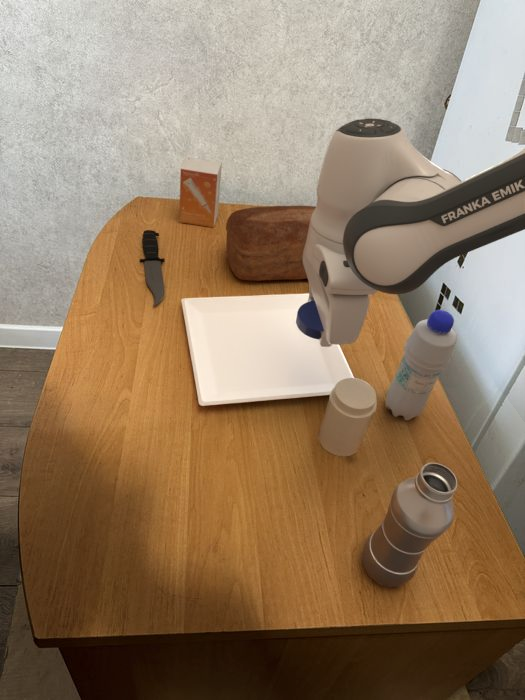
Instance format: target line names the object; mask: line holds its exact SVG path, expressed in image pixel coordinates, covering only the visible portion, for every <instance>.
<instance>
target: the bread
mask: <svg viewBox="0 0 525 700" xmlns="http://www.w3.org/2000/svg"><path fill="white" fill-rule="evenodd" d="M315 208H316V206H314V205H273V206H272V205H271V206H256V207H255V206H254V207H247V208H242V209H238V210H234V211H233V212H232V213H230V214H229V216H228V218H227V220H226V224H225V231H226V248H225V249H226V250H225V254H226V258H227V261H228V264H229V266H230V269H231V271H232V273H233V274H234V275H235V276H236V277H237V278H238V279H239V280H243V281H250V282H262V281H263V282H264V281H273V280H277V281H278V280H305V279H308V278H307V275H306V271H305V268H304V265H303V251H304V247H305V243H306V239H307V235H308V230H309V225H310V220H311V216H312V214H313V212H314V210H315Z"/></svg>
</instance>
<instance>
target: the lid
mask: <svg viewBox="0 0 525 700" xmlns="http://www.w3.org/2000/svg"><path fill="white" fill-rule="evenodd" d="M296 324H297V327H298V328H299V330H300V331H301V332H302V333H304V334H305V335H307V336H309V337H311V338H314V339H319V334H320V331H324V329H323V326H322V322H321V319H320V316H319V313H318V310H317V306H316V303H315V301H310V302H307V303H305V304H303V305H302V306H300V308H299V309H298V312H297V319H296Z"/></svg>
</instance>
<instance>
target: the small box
mask: <svg viewBox="0 0 525 700" xmlns="http://www.w3.org/2000/svg"><path fill="white" fill-rule="evenodd" d="M222 165H223V163H222V162H220V161H215V160H208V159H203V158H194V157H188V156H185V159H184V161H183V163H182V165H181V167H180V176H179V179H180V180H179V181H180V182H179V221H178V222H179V224H181V223H183V224H188V225H195V226H201V227H208V228H212V229H213V228H215V225H216V222H217V218H218V215H219V208H220V207H219V205H220V193H221V180H222V179H221V178H222V168H223V167H222Z"/></svg>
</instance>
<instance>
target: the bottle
mask: <svg viewBox="0 0 525 700" xmlns="http://www.w3.org/2000/svg"><path fill="white" fill-rule="evenodd" d="M454 323H455V318H454V316H453V314H451V313H450V312H449V311H446V310H443V309H437V310H434V311H432V312H431V313H430V315H429V317H428V319H427V318H426V319H422V320H420V321H418V323H417V324H415V326H414V328H413V329H412V332H410V334H409V335H408V337H407V338H406V343H405V344H404V349H403V351H404V353H403V355H402V358H401V359H400V363H399V365H398V368H397V369H396V373H395V375H394V377H393V379H392V381H391V382H390V384H389V386H388V388H387V390H386V394H385V407H386V409H388V410H391V414H392V416H393V417H394V418H396V417H398V416H402V417H403V420H404V421H409V420H411V419H413V418H417V417H419V416H420V415H421V414H422V413H423V411H424V410H425V407H426V405H427V403H428V401H429V398H430V396H431V393H432V391H433V389H434V387H435V385H436V383H437V381H438V379H439V377H440V375H441V373H442V371H443V369H444V368H446V367H447V366H448V364H449V362H450V361H451V359H452V357H453V353H454V350H455V347H456V344H457V339H458V338H457V333H456V332H455V330H454V329H453V326H454Z"/></svg>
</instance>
